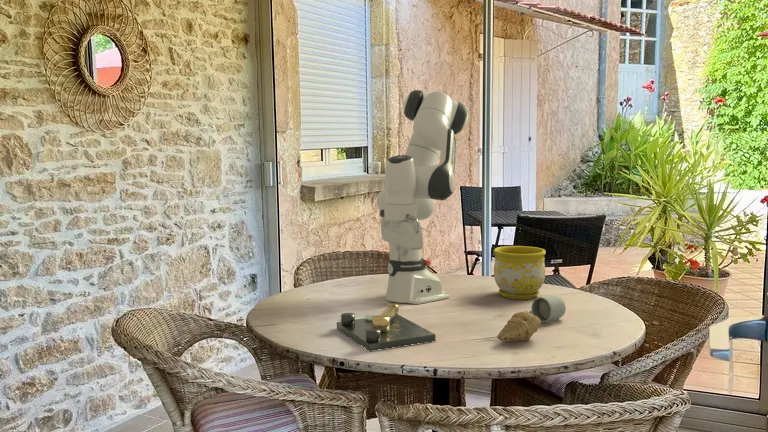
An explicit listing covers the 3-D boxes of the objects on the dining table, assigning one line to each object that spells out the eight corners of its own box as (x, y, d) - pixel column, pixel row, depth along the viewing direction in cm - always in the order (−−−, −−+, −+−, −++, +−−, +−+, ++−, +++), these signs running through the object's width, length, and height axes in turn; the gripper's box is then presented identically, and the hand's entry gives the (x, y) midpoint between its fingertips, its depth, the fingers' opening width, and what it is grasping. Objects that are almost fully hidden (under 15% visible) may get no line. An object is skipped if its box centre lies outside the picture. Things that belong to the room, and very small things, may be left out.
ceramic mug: (567, 320, 209) (567, 295, 208) (550, 324, 204) (550, 299, 203) (539, 313, 217) (539, 290, 216) (522, 318, 212) (523, 294, 211)
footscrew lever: (387, 332, 189) (387, 320, 188) (370, 331, 190) (370, 319, 190) (402, 315, 207) (402, 303, 207) (386, 314, 209) (386, 302, 208)
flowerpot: (555, 296, 239) (556, 250, 237) (519, 304, 229) (519, 256, 227) (518, 287, 254) (519, 244, 252) (482, 294, 243) (483, 249, 242)
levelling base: (397, 320, 210) (397, 304, 209) (435, 341, 188) (435, 323, 188) (336, 328, 201) (336, 312, 201) (369, 351, 180) (369, 333, 179)
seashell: (513, 350, 180) (513, 321, 179) (489, 343, 186) (489, 315, 185) (543, 339, 189) (544, 311, 188) (519, 333, 195) (520, 306, 194)
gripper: (428, 216, 185) (429, 266, 187) (395, 208, 204) (396, 254, 205) (407, 218, 183) (408, 268, 184) (376, 210, 201) (377, 256, 203)
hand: (402, 260), depth 195 cm, fingers closed
